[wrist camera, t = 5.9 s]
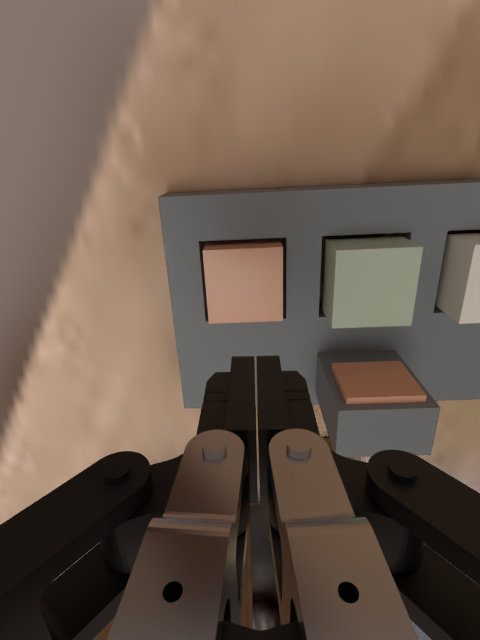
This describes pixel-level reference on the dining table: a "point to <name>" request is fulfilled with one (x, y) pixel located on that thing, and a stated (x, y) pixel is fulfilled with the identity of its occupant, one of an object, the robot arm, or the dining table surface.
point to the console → (306, 312)
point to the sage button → (370, 281)
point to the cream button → (461, 278)
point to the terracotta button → (244, 280)
